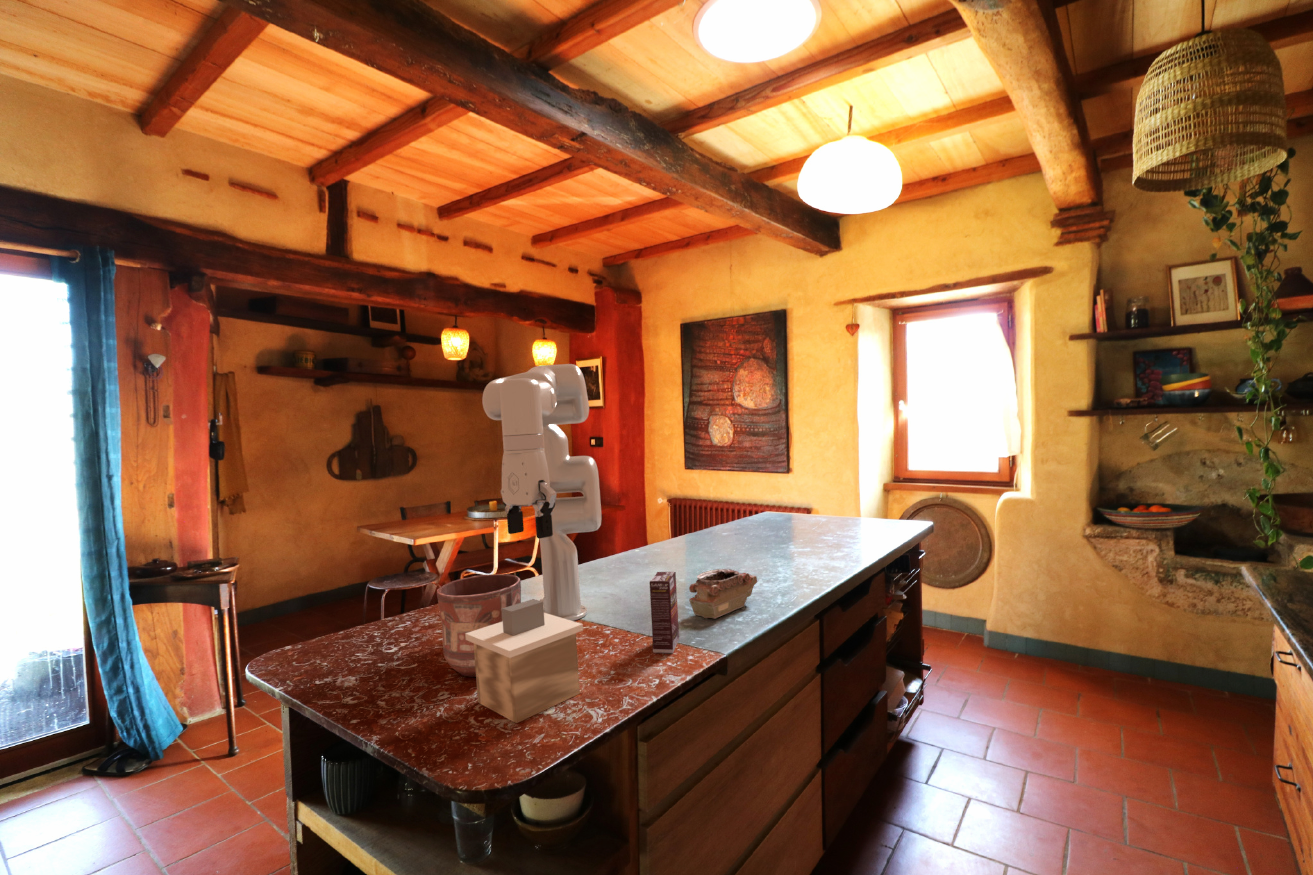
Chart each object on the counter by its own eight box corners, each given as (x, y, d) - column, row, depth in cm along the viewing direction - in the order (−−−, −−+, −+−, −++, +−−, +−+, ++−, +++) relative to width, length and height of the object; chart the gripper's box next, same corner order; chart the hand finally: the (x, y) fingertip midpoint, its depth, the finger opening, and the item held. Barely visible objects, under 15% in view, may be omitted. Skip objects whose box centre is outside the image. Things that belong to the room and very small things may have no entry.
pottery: (439, 661, 135) (433, 581, 135) (518, 645, 142) (513, 569, 142) (445, 691, 119) (438, 601, 118) (534, 671, 126) (528, 586, 125)
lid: (466, 645, 113) (463, 609, 113) (537, 620, 124) (535, 588, 124) (510, 663, 103) (507, 624, 102) (583, 635, 114) (581, 600, 114)
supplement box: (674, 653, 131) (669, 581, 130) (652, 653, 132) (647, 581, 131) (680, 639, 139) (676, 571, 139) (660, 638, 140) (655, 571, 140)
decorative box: (676, 612, 159) (674, 575, 159) (731, 595, 171) (729, 561, 171) (710, 623, 148) (708, 584, 148) (766, 604, 161) (764, 568, 160)
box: (477, 702, 113) (473, 639, 113) (539, 676, 123) (535, 618, 123) (516, 723, 104) (511, 654, 104) (579, 693, 114) (575, 630, 114)
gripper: (482, 446, 117) (488, 534, 117) (532, 445, 105) (539, 542, 105) (516, 444, 122) (522, 528, 123) (567, 442, 110) (573, 535, 110)
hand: (530, 534), depth 114 cm, fingers open, 9 cm apart
